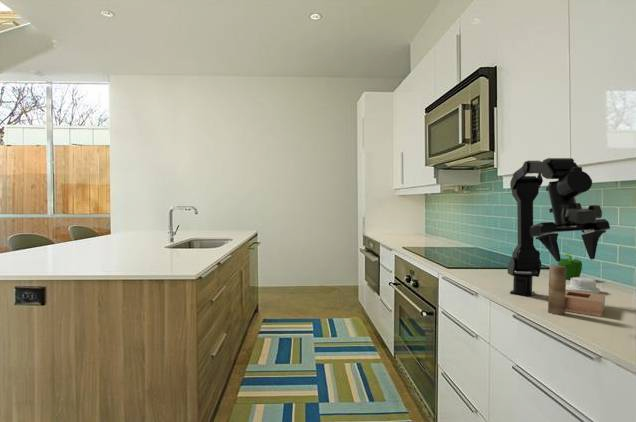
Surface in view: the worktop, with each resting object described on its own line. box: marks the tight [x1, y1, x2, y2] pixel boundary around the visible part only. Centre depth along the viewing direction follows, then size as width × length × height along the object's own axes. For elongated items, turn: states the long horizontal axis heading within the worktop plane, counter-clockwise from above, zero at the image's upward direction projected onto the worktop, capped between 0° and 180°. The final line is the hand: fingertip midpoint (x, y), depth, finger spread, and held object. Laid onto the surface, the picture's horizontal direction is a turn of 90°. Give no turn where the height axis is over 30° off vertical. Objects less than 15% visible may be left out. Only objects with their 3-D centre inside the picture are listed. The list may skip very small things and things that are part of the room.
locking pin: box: [547, 264, 567, 316], centre depth 113 cm, size 4×4×13 cm
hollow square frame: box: [565, 289, 606, 318], centre depth 118 cm, size 12×12×4 cm
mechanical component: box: [566, 277, 601, 294], centre depth 143 cm, size 10×4×10 cm
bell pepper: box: [557, 253, 583, 280], centre depth 166 cm, size 8×8×10 cm
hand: (575, 260), depth 106 cm, fingers open, 9 cm apart
